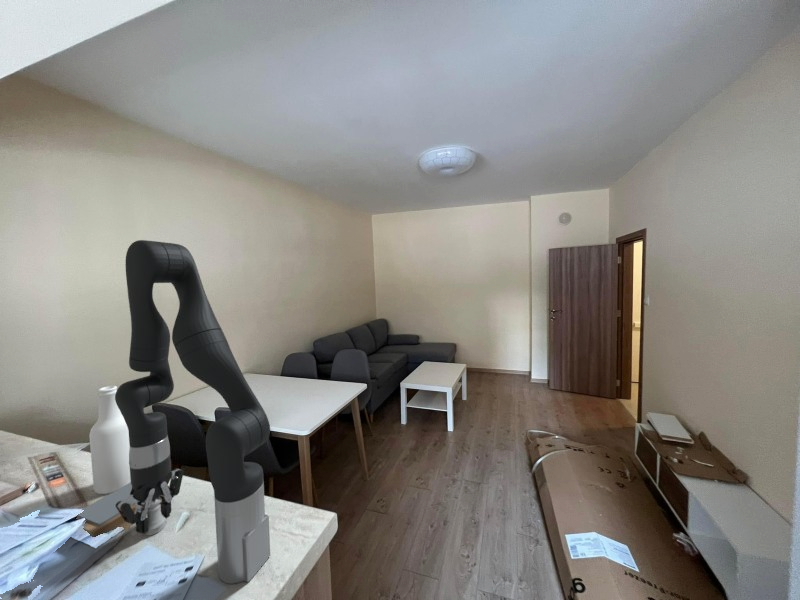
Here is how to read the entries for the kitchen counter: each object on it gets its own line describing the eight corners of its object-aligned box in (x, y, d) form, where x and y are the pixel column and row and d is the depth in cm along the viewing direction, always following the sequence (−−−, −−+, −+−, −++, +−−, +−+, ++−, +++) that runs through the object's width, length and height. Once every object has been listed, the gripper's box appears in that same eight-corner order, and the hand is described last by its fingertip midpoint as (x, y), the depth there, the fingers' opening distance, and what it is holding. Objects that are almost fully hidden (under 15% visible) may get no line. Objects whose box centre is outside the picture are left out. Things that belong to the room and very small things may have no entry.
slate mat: (160, 488, 81) (160, 486, 81) (100, 526, 68) (99, 524, 68) (136, 481, 84) (136, 479, 84) (74, 515, 72) (74, 513, 72)
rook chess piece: (162, 518, 75) (160, 489, 75) (170, 526, 73) (168, 495, 73) (140, 531, 72) (137, 500, 71) (147, 539, 69) (145, 507, 69)
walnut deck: (169, 499, 82) (168, 485, 82) (95, 549, 67) (94, 532, 67) (141, 490, 86) (140, 477, 86) (64, 535, 71) (63, 519, 70)
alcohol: (99, 500, 82) (90, 395, 80) (90, 488, 87) (81, 389, 85) (139, 481, 90) (132, 385, 88) (129, 472, 94) (122, 380, 92)
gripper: (125, 480, 63) (130, 554, 64) (190, 444, 77) (194, 506, 78) (103, 473, 66) (109, 544, 67) (170, 439, 79) (174, 500, 80)
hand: (154, 523), depth 72 cm, fingers closed on rook chess piece, 4 cm apart
